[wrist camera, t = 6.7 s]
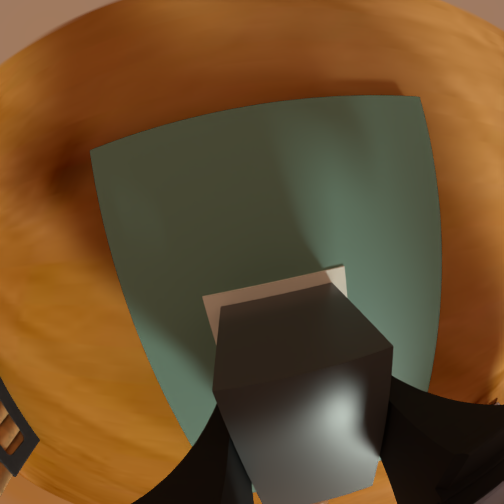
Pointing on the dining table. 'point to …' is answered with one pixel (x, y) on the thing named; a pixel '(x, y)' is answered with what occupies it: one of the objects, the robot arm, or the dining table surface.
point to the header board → (274, 227)
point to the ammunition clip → (13, 438)
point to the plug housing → (303, 393)
